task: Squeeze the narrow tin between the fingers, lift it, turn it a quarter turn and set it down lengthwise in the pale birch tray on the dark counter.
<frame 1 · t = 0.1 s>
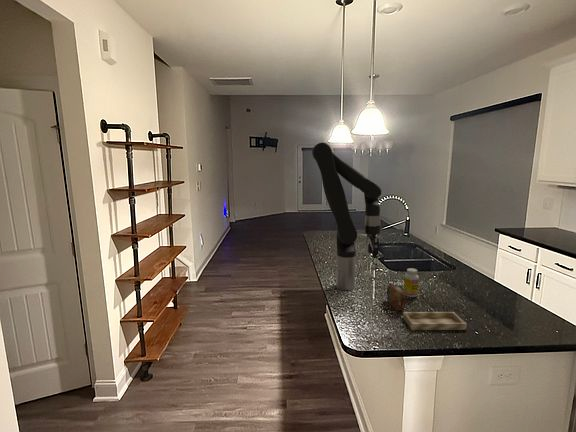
hand: (372, 255, 165), 17 cm above the countertop, tool pointing down, fingers open, 8 cm apart
tray: (433, 323, 130), on the countertop
supplement bottle: (410, 295, 158), on the countertop
tin: (395, 306, 146), on the countertop
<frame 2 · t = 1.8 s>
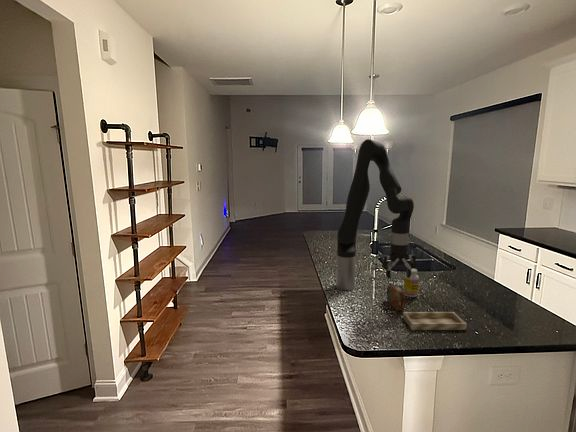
hand: (398, 277, 144), 13 cm above the countertop, tool pointing down, fingers open, 8 cm apart
nothing on the countertop moved.
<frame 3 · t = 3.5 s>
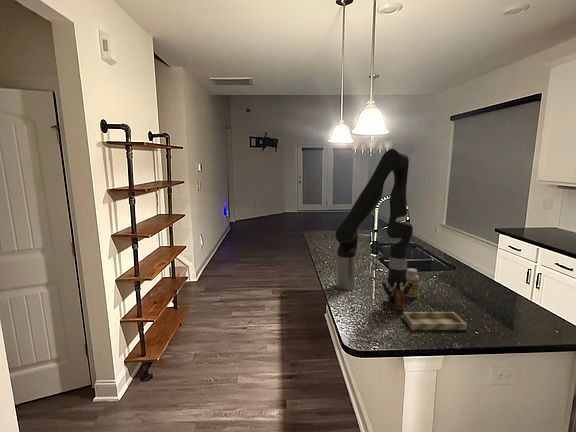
hand: (395, 303, 146), 1 cm above the countertop, tool pointing down, fingers closed on tin, 2 cm apart
tin: (396, 306, 146), on the countertop, touching gripper
everything else where it was.
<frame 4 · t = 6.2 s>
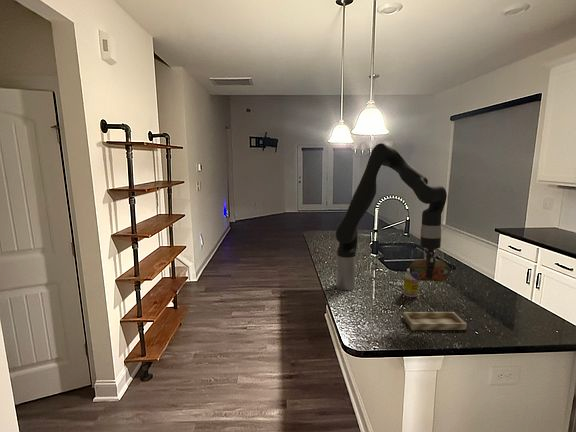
hand: (428, 276, 132), 18 cm above the countertop, tool pointing down, fingers closed on tin, 2 cm apart
tin: (428, 280, 132), point 16 cm above the countertop, touching gripper
everything else where it was.
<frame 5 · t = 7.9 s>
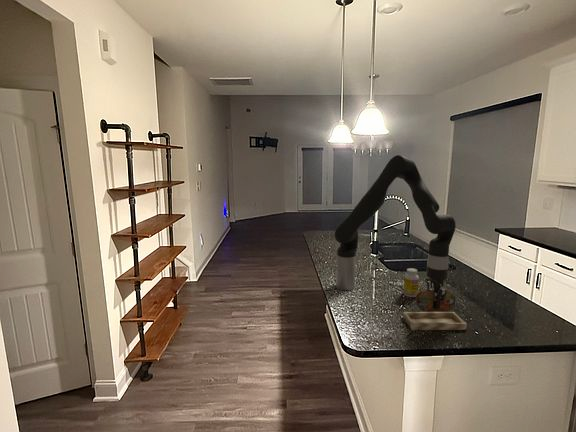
hand: (434, 307, 129), 7 cm above the countertop, tool pointing down, fingers closed on tin, 2 cm apart
tin: (433, 310, 130), point 5 cm above the countertop, touching gripper
everything else where it was.
when the fingers open (3 cm above the countertop, at t = 8.9 s): tin drops 1 cm, resting on tray.
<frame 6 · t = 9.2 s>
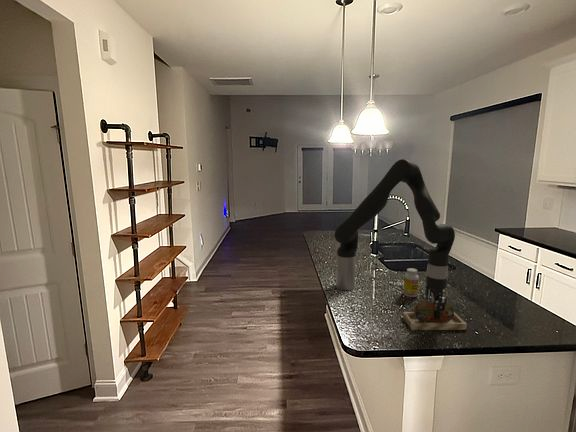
hand: (433, 315, 130), 4 cm above the countertop, tool pointing down, fingers open, 4 cm apart
tin: (432, 322, 131), resting on tray
everything else where it was.
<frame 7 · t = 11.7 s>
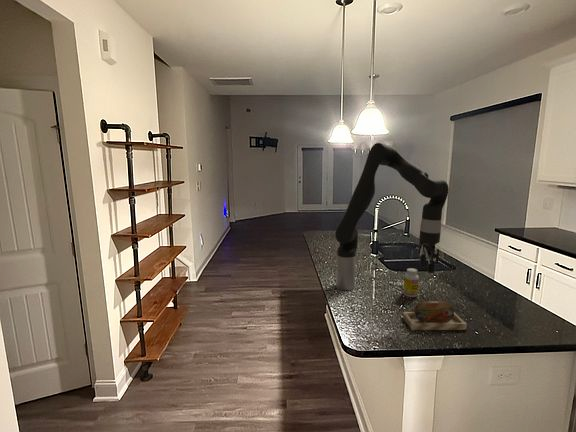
hand: (426, 269, 131), 21 cm above the countertop, tool pointing down, fingers open, 8 cm apart
nothing on the countertop moved.
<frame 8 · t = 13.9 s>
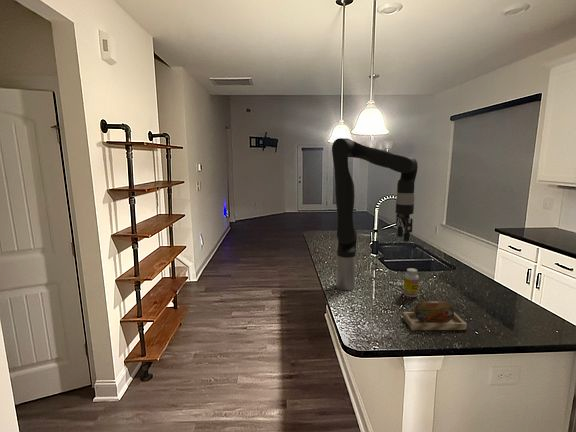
hand: (402, 238, 145), 30 cm above the countertop, tool pointing down, fingers open, 8 cm apart
nothing on the countertop moved.
at the end: tin 0.4 cm off-centre on the tray, point 0.4 cm above the tray's base; tin tilted 0°; the gripper is holding nothing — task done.
